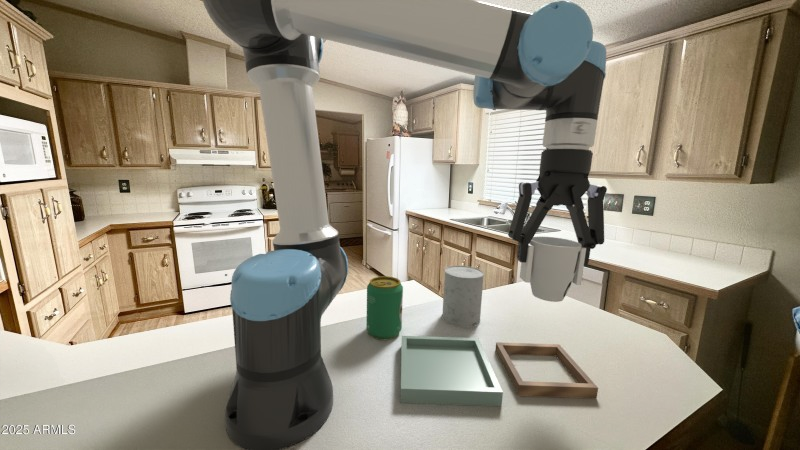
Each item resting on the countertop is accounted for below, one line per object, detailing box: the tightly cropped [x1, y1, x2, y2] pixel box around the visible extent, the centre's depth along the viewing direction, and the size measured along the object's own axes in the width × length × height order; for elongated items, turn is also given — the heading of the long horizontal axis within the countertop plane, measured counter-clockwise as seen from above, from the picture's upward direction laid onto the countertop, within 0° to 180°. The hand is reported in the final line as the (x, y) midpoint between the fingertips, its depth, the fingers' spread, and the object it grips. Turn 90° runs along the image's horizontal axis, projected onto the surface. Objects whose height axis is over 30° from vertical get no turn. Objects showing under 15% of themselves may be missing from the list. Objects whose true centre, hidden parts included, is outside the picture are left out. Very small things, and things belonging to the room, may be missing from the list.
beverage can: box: [366, 275, 404, 341], centre depth 70 cm, size 8×8×12 cm
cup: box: [529, 236, 582, 303], centre depth 55 cm, size 8×8×10 cm
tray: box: [400, 335, 504, 407], centre depth 57 cm, size 16×16×2 cm
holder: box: [495, 341, 599, 400], centre depth 58 cm, size 13×13×2 cm
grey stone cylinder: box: [441, 265, 485, 328], centre depth 78 cm, size 10×10×12 cm
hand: (549, 280), depth 55 cm, fingers closed on cup, 8 cm apart
